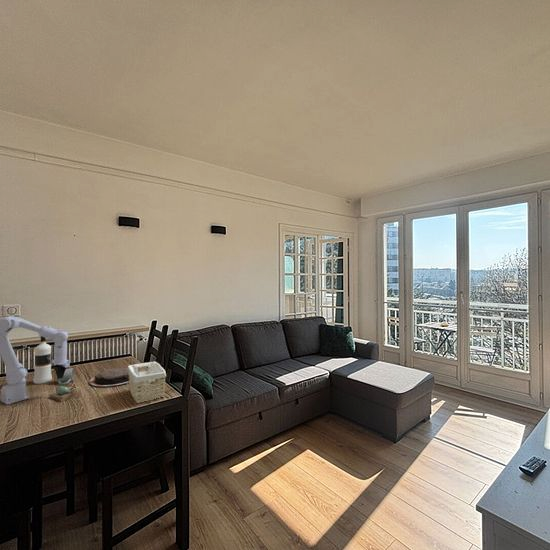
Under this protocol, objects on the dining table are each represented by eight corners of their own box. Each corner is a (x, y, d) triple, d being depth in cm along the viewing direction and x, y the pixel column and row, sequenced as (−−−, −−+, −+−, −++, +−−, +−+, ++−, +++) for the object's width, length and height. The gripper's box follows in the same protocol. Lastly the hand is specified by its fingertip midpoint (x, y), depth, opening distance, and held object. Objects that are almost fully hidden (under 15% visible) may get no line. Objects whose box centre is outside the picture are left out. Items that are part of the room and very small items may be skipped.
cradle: (61, 401, 158) (61, 397, 158) (49, 397, 164) (49, 392, 164) (80, 395, 166) (80, 391, 166) (69, 391, 172) (69, 387, 172)
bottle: (54, 394, 167) (63, 397, 162) (57, 385, 168) (65, 389, 163) (63, 393, 170) (71, 397, 166) (65, 385, 171) (74, 388, 167)
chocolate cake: (97, 374, 202) (97, 364, 202) (142, 371, 210) (142, 362, 210) (82, 390, 175) (82, 378, 175) (135, 386, 183) (135, 375, 183)
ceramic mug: (58, 380, 190) (58, 368, 190) (74, 378, 194) (74, 366, 194) (55, 386, 180) (55, 373, 180) (72, 384, 184) (72, 371, 184)
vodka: (32, 381, 188) (33, 332, 188) (51, 378, 194) (52, 331, 194) (33, 385, 181) (33, 335, 181) (52, 382, 187) (53, 333, 187)
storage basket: (166, 398, 164) (167, 371, 164) (134, 405, 155) (134, 376, 155) (156, 385, 184) (156, 360, 184) (126, 390, 174) (126, 364, 174)
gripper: (75, 353, 168) (75, 378, 168) (61, 350, 175) (61, 374, 175) (61, 356, 162) (61, 382, 162) (47, 353, 169) (47, 377, 169)
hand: (60, 378), depth 168 cm, fingers closed
